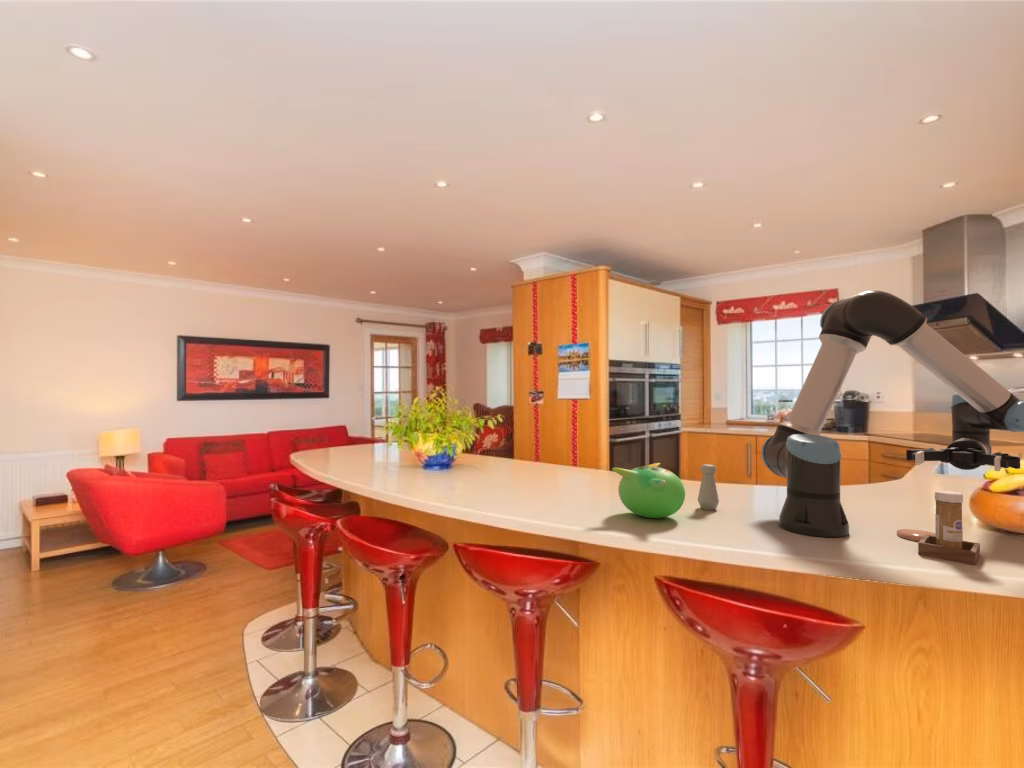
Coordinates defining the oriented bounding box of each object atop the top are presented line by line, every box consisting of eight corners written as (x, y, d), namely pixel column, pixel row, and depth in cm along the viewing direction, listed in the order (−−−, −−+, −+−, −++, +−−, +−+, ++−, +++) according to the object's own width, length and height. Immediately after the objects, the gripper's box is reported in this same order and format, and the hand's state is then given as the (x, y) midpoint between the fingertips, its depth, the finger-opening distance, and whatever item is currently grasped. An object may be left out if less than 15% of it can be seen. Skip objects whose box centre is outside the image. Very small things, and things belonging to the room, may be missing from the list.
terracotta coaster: (913, 542, 116) (913, 539, 116) (888, 531, 125) (888, 528, 125) (955, 543, 115) (955, 540, 115) (926, 532, 124) (926, 529, 124)
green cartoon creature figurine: (694, 517, 139) (694, 463, 139) (667, 529, 126) (667, 470, 126) (635, 506, 151) (635, 457, 151) (605, 516, 138) (605, 463, 138)
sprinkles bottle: (956, 559, 104) (955, 494, 104) (930, 553, 108) (929, 490, 108) (968, 556, 106) (967, 492, 106) (942, 550, 110) (941, 489, 110)
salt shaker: (720, 511, 145) (720, 466, 145) (699, 510, 146) (699, 465, 146) (716, 506, 151) (716, 463, 151) (696, 506, 152) (696, 463, 152)
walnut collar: (975, 565, 101) (975, 552, 101) (918, 554, 107) (918, 542, 107) (979, 555, 107) (979, 543, 107) (925, 545, 113) (925, 534, 113)
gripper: (1037, 474, 119) (1034, 485, 105) (905, 463, 137) (888, 472, 123) (1036, 442, 119) (1034, 449, 105) (905, 436, 137) (887, 441, 123)
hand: (955, 461), depth 114 cm, fingers open, 13 cm apart
